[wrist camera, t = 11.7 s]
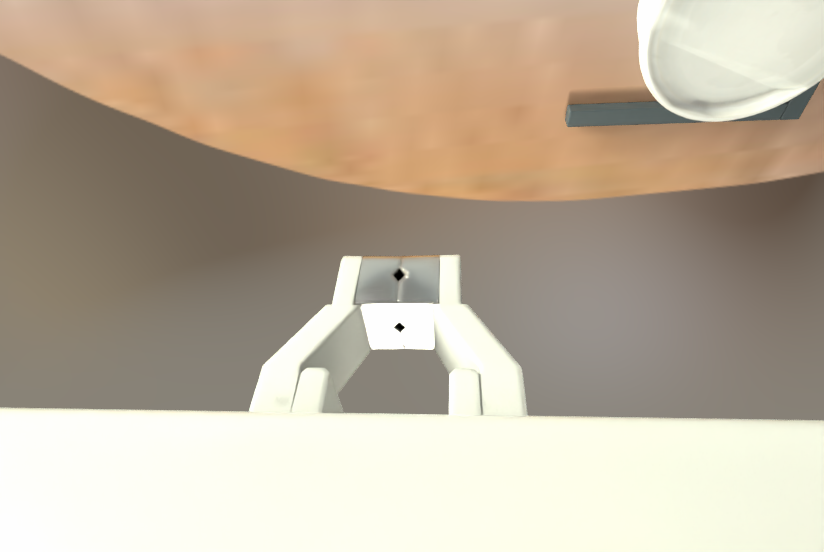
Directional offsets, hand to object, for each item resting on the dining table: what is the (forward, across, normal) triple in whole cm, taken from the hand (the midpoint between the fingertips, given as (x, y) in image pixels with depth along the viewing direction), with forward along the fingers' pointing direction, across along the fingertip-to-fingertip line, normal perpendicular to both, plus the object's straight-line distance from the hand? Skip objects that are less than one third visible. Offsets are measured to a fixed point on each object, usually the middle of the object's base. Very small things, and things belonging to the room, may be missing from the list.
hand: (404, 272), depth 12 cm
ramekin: (+23, -17, +1) cm, 29 cm away
